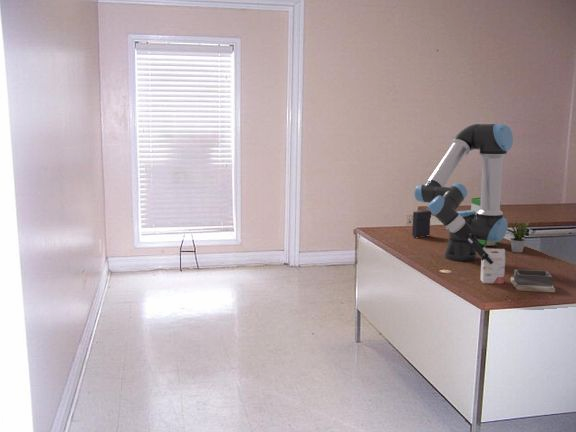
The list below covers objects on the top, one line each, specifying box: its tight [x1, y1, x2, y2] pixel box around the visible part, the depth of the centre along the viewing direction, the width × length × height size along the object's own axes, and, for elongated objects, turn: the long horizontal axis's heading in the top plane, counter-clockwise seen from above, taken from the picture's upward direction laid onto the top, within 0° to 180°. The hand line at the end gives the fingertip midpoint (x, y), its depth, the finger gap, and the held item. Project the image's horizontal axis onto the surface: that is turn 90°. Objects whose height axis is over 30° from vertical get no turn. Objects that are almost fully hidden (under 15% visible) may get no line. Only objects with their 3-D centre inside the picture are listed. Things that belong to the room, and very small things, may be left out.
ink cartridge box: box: [480, 248, 506, 285], centre depth 224 cm, size 9×5×15 cm, turn 83°
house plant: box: [505, 220, 531, 253], centre depth 277 cm, size 14×14×16 cm
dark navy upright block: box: [411, 209, 432, 238], centre depth 313 cm, size 11×4×15 cm, turn 122°
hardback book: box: [470, 197, 501, 248], centre depth 294 cm, size 18×7×24 cm, turn 8°
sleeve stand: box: [510, 268, 556, 293], centre depth 219 cm, size 14×14×6 cm
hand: (495, 264), depth 224 cm, fingers open, 13 cm apart
